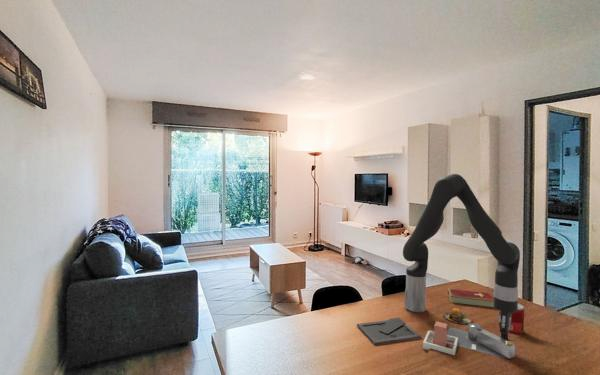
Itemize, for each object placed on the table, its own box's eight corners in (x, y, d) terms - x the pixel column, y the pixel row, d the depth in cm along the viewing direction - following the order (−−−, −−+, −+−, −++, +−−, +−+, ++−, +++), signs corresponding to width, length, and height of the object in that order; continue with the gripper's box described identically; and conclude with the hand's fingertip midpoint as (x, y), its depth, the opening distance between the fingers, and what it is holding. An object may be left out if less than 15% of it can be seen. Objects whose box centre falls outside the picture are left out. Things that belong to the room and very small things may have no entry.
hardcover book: (447, 295, 175) (447, 287, 175) (490, 299, 169) (490, 292, 168) (450, 303, 164) (450, 295, 164) (496, 308, 157) (496, 300, 157)
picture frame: (399, 322, 143) (356, 327, 137) (399, 317, 143) (356, 323, 137) (421, 339, 127) (374, 346, 122) (421, 334, 127) (374, 341, 122)
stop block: (433, 345, 120) (434, 325, 120) (435, 341, 124) (436, 321, 124) (445, 348, 118) (445, 328, 118) (446, 344, 122) (447, 323, 121)
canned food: (527, 335, 130) (527, 309, 129) (505, 333, 131) (506, 307, 131) (518, 326, 137) (518, 302, 137) (498, 325, 139) (498, 300, 138)
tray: (422, 348, 119) (423, 342, 119) (428, 336, 129) (428, 330, 128) (454, 357, 113) (454, 350, 113) (458, 344, 123) (458, 337, 123)
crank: (464, 336, 126) (465, 323, 125) (473, 334, 128) (473, 320, 127) (507, 360, 110) (508, 344, 110) (517, 356, 112) (517, 341, 112)
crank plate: (444, 344, 122) (444, 342, 122) (449, 329, 135) (449, 326, 135) (505, 361, 111) (505, 358, 111) (504, 342, 124) (504, 339, 124)
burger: (477, 323, 141) (477, 307, 141) (462, 329, 135) (462, 312, 135) (452, 313, 151) (453, 298, 151) (437, 319, 145) (437, 303, 145)
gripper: (516, 305, 109) (515, 353, 109) (519, 293, 119) (517, 337, 120) (491, 299, 113) (490, 346, 114) (496, 289, 124) (494, 331, 124)
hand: (504, 341), depth 117 cm, fingers closed
